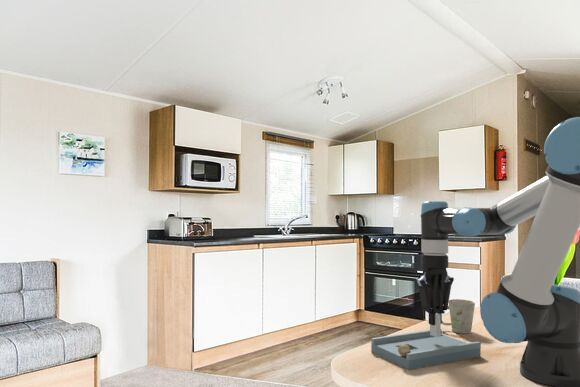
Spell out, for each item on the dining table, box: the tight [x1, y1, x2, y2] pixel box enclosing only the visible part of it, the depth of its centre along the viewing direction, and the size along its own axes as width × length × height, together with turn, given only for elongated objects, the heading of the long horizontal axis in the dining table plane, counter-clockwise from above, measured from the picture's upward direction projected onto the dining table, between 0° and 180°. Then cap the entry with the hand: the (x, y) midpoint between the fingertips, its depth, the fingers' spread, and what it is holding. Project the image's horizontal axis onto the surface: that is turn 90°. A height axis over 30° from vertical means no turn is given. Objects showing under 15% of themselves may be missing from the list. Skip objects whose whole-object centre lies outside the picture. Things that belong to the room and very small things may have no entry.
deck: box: [370, 328, 482, 371], centre depth 135 cm, size 16×26×4 cm, turn 117°
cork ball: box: [398, 344, 411, 357], centre depth 125 cm, size 3×3×3 cm
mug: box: [441, 298, 476, 335], centre depth 160 cm, size 8×13×10 cm, turn 79°
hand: (435, 335), depth 137 cm, fingers closed
